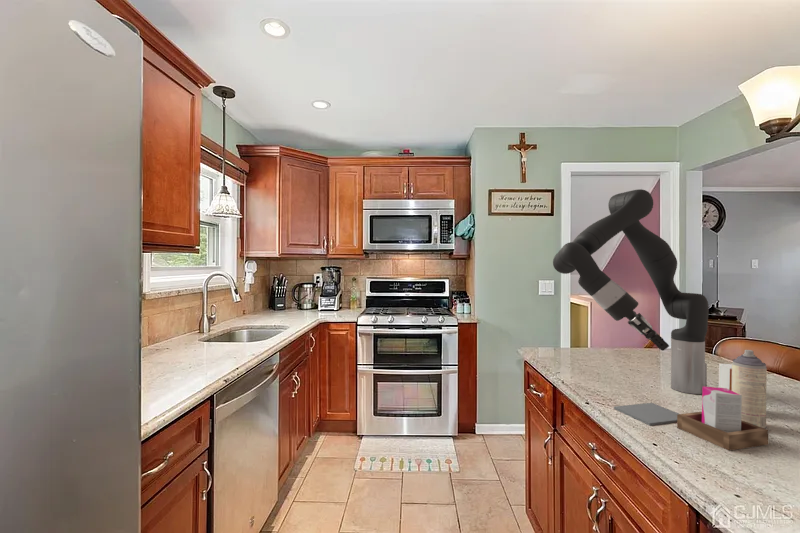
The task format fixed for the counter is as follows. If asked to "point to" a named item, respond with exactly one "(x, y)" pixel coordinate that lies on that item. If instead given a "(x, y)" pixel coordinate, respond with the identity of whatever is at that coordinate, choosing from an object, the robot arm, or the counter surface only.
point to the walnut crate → (723, 432)
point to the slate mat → (649, 413)
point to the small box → (725, 376)
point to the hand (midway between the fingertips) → (663, 345)
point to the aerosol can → (750, 387)
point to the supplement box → (721, 409)
